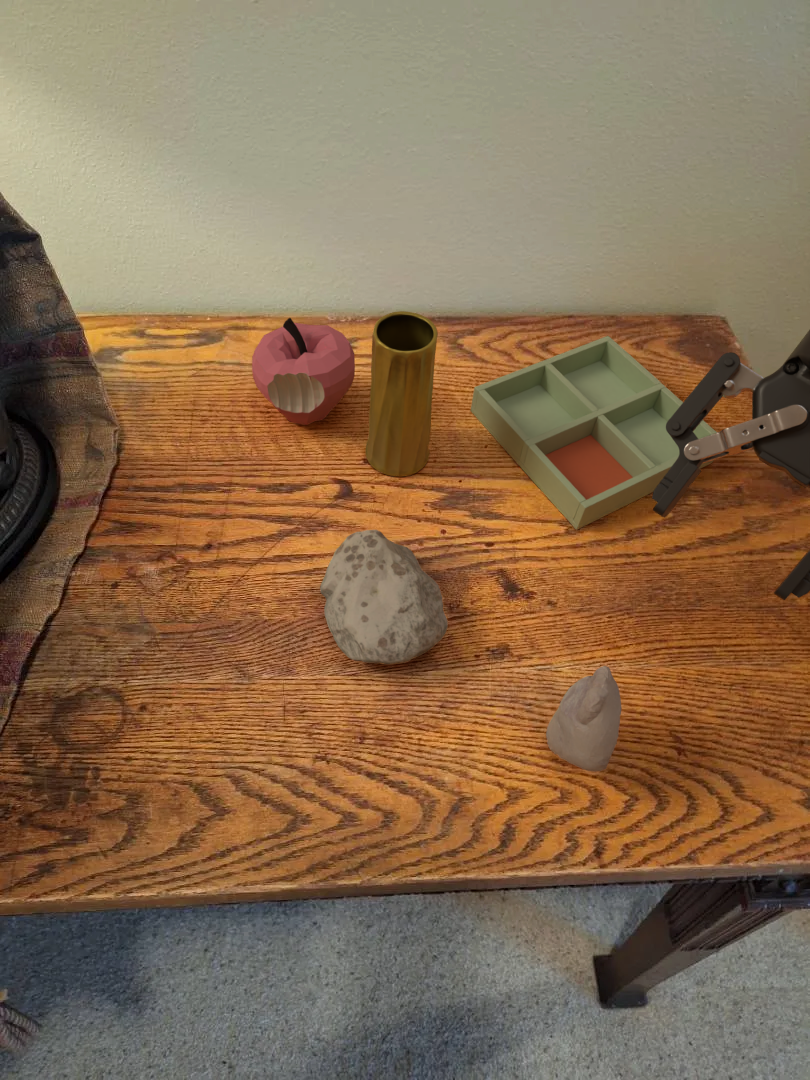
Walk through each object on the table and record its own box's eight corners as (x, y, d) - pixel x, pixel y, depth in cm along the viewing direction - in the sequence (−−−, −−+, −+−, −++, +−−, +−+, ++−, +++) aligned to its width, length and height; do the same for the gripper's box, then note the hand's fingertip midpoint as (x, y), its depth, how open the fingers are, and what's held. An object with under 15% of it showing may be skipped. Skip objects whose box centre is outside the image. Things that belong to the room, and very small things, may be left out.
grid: (712, 462, 71) (726, 439, 68) (576, 530, 65) (585, 508, 62) (599, 359, 79) (608, 335, 76) (470, 410, 73) (474, 386, 71)
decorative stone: (478, 615, 59) (487, 582, 55) (385, 703, 54) (387, 674, 50) (373, 528, 64) (374, 492, 60) (278, 602, 59) (272, 568, 55)
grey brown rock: (595, 791, 51) (640, 739, 43) (546, 790, 51) (582, 739, 43) (583, 712, 55) (622, 652, 47) (537, 712, 55) (569, 651, 46)
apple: (248, 436, 69) (234, 353, 61) (271, 376, 75) (260, 292, 66) (346, 450, 69) (345, 369, 61) (363, 389, 74) (363, 306, 66)
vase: (371, 481, 67) (374, 359, 55) (360, 433, 70) (361, 310, 59) (435, 474, 68) (451, 352, 56) (421, 427, 71) (434, 304, 60)
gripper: (786, 243, 40) (610, 485, 44) (1056, 371, 35) (827, 633, 39) (784, 287, 47) (631, 494, 51) (1011, 401, 42) (820, 621, 46)
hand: (717, 554), depth 45 cm, fingers open, 8 cm apart
